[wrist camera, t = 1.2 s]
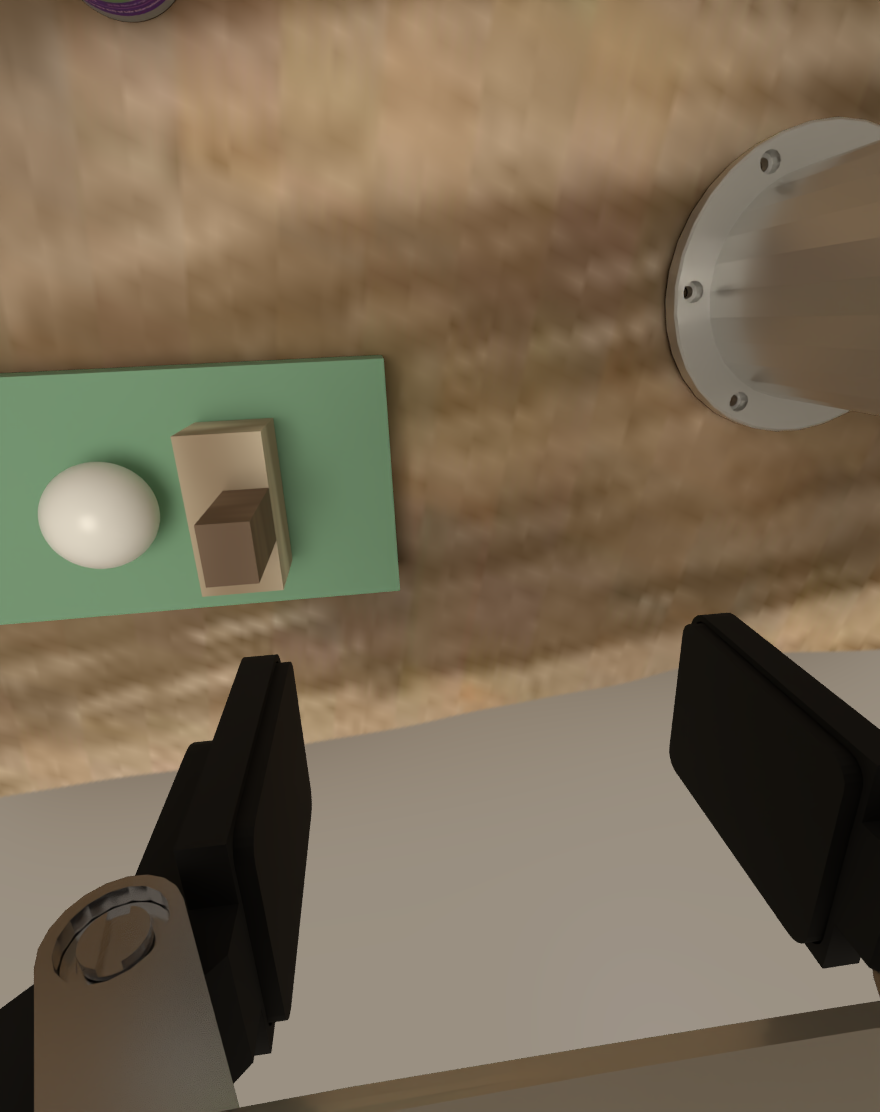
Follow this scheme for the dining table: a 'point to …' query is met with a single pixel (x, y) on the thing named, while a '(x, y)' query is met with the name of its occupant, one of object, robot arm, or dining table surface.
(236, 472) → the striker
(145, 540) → the golf ball
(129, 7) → the container
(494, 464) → the dining table surface
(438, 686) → the dining table surface
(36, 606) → the putting green
